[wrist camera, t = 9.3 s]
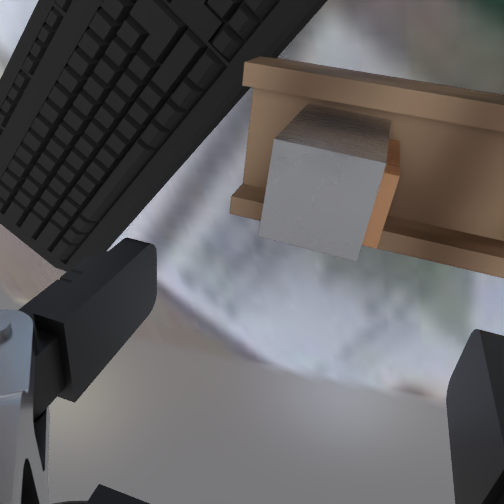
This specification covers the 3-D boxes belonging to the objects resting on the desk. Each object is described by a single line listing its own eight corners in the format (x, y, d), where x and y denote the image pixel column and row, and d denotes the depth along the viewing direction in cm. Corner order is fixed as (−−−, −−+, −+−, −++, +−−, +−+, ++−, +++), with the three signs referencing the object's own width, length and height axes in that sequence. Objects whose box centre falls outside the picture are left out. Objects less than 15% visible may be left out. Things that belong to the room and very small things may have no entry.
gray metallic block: (308, 103, 22) (274, 138, 16) (403, 122, 21) (404, 167, 15) (293, 179, 24) (258, 235, 18) (379, 199, 23) (372, 265, 17)
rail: (777, 139, 18) (996, 217, 12) (670, 289, 22) (787, 412, 15) (262, 55, 22) (202, 76, 16) (246, 193, 26) (192, 258, 20)
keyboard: (84, 278, 34) (68, 292, 32) (-30, 174, 32) (-53, 183, 31) (412, -92, 19) (414, -101, 17) (227, -324, 17) (208, -360, 15)
